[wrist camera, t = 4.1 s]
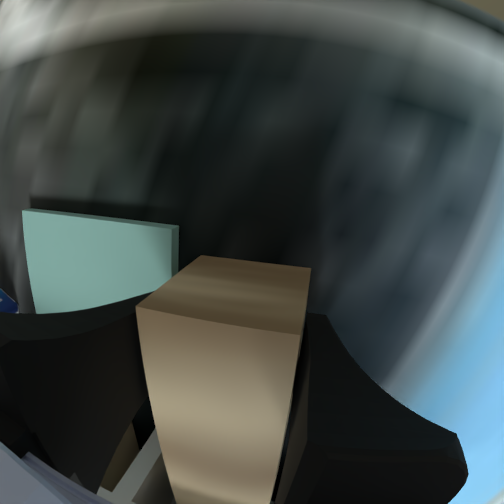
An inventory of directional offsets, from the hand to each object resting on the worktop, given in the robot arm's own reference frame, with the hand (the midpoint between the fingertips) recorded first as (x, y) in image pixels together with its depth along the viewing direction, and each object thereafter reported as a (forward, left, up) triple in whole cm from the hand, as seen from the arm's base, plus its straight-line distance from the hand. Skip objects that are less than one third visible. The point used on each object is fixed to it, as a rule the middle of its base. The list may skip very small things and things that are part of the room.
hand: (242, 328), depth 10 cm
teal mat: (-1, +7, -1) cm, 8 cm away
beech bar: (-4, 0, -1) cm, 4 cm away
